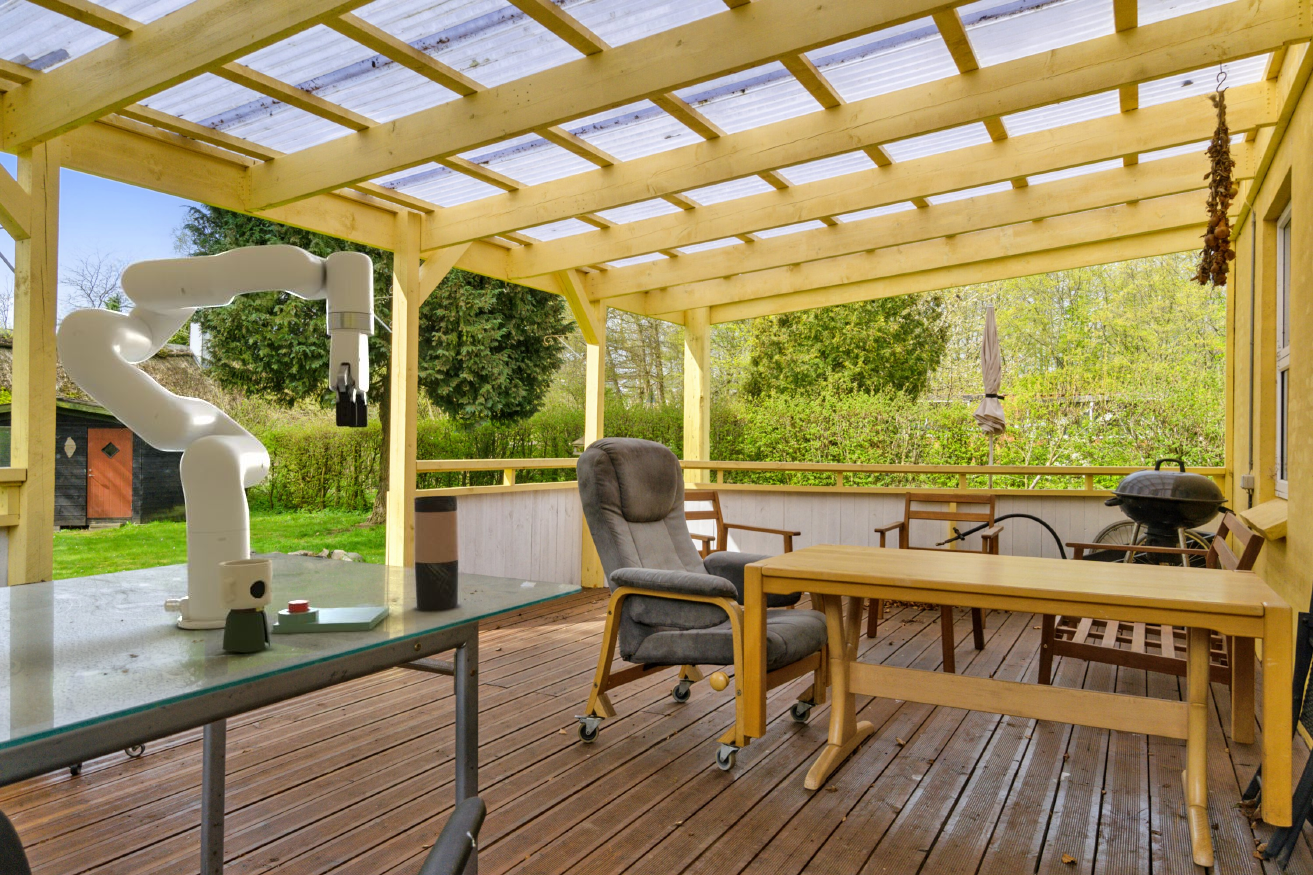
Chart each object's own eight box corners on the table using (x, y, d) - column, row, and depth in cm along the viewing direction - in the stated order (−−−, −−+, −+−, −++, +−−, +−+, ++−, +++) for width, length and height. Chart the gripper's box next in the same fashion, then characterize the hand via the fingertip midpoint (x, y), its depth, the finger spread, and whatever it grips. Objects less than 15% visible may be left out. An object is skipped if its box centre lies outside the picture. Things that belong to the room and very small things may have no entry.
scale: (272, 633, 136) (272, 614, 136) (300, 616, 149) (300, 599, 149) (369, 630, 137) (369, 611, 137) (389, 614, 150) (388, 597, 150)
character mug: (249, 661, 119) (247, 567, 119) (200, 661, 119) (199, 567, 119) (289, 642, 130) (288, 556, 130) (244, 642, 130) (243, 556, 130)
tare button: (285, 614, 137) (285, 603, 137) (292, 610, 140) (292, 600, 140) (305, 614, 138) (304, 603, 138) (311, 610, 141) (311, 599, 141)
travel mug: (464, 603, 158) (463, 495, 158) (450, 612, 151) (449, 498, 151) (424, 603, 159) (423, 495, 159) (408, 612, 152) (407, 498, 152)
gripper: (338, 332, 154) (340, 428, 154) (315, 319, 137) (317, 426, 137) (381, 332, 155) (383, 427, 155) (364, 319, 138) (366, 425, 138)
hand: (352, 426), depth 146 cm, fingers open, 9 cm apart
